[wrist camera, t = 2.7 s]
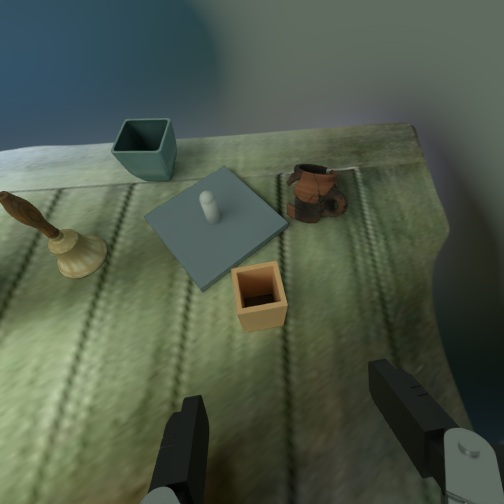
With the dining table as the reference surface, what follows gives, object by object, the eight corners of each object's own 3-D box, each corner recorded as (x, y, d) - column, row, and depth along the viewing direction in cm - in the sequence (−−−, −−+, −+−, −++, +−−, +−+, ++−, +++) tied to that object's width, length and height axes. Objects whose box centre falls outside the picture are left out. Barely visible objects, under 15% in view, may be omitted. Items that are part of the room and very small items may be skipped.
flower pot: (133, 188, 52) (108, 152, 44) (145, 156, 56) (124, 118, 48) (176, 189, 51) (159, 152, 43) (185, 157, 55) (171, 117, 47)
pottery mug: (271, 210, 48) (278, 164, 43) (302, 201, 54) (311, 159, 49) (326, 238, 41) (341, 187, 37) (355, 224, 47) (371, 178, 42)
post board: (202, 292, 41) (188, 270, 33) (147, 221, 48) (125, 190, 40) (287, 227, 45) (290, 196, 38) (225, 171, 52) (218, 136, 45)
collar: (283, 325, 38) (287, 305, 29) (244, 332, 37) (237, 314, 29) (275, 289, 40) (276, 260, 31) (239, 295, 40) (230, 268, 31)
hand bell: (103, 229, 47) (34, 160, 33) (111, 266, 44) (36, 207, 30) (57, 246, 46) (-36, 183, 32) (60, 286, 42) (-42, 234, 28)
